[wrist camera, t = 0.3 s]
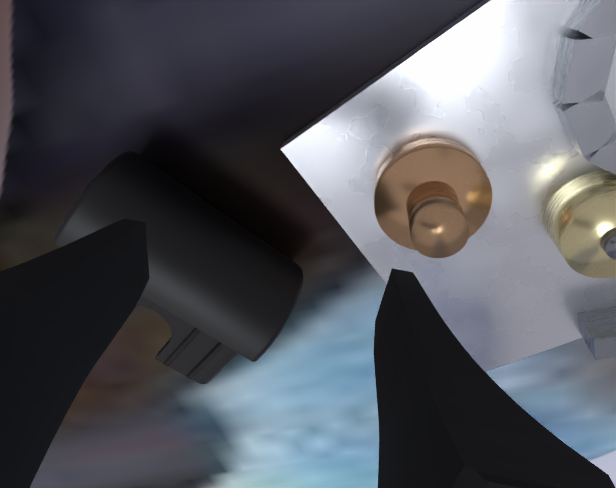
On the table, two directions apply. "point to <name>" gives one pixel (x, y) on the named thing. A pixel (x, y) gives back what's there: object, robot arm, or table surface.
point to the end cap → (192, 267)
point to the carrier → (496, 171)
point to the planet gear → (432, 196)
